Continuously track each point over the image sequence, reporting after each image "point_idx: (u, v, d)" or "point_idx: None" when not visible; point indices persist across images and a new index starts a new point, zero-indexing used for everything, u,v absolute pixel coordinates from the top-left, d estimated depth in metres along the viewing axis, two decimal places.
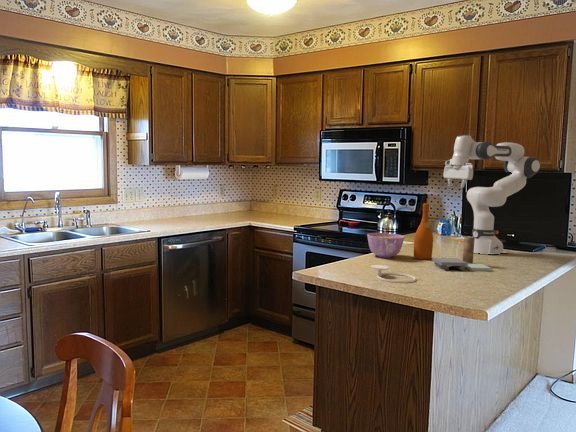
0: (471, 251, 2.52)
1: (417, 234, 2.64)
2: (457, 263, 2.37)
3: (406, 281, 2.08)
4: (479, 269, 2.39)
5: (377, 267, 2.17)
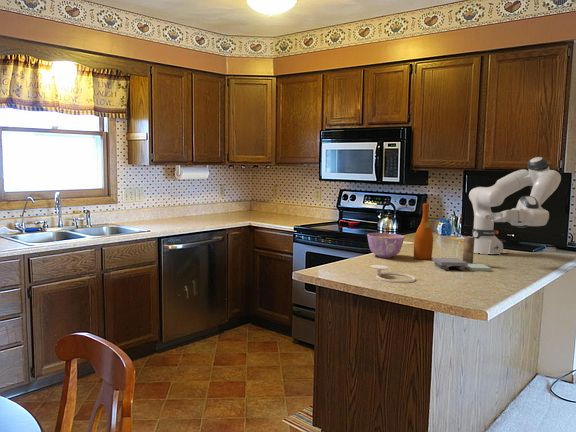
0: (471, 251, 2.52)
1: (417, 234, 2.64)
2: (457, 263, 2.37)
3: (406, 281, 2.08)
4: (479, 269, 2.39)
5: (376, 267, 2.17)
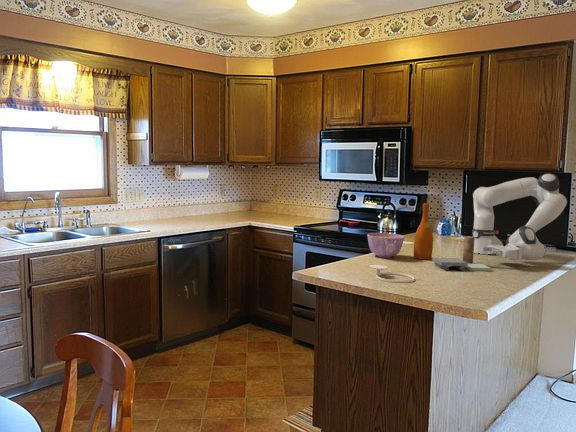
0: (471, 251, 2.52)
1: (417, 234, 2.64)
2: (457, 263, 2.37)
3: (405, 281, 2.08)
4: (479, 269, 2.39)
5: (376, 267, 2.17)
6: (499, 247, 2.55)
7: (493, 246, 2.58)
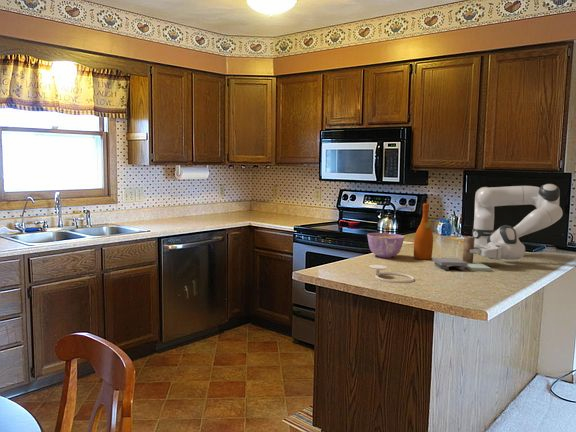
0: None
1: (417, 234, 2.64)
2: (457, 263, 2.37)
3: (405, 281, 2.08)
4: (479, 269, 2.39)
5: (375, 267, 2.17)
6: (479, 246, 2.54)
7: None
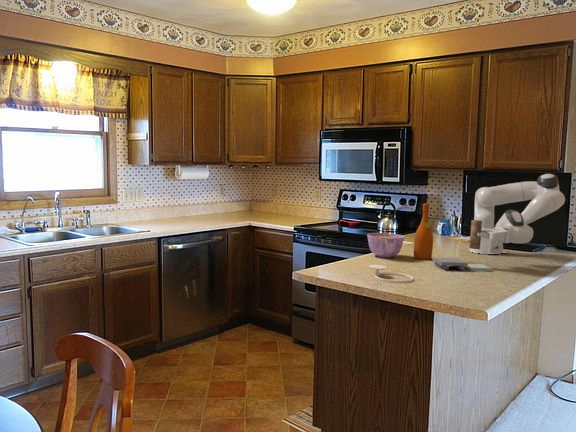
0: None
1: (417, 234, 2.64)
2: (457, 263, 2.37)
3: (404, 281, 2.08)
4: (479, 269, 2.39)
5: (375, 267, 2.17)
6: (486, 230, 2.48)
7: None
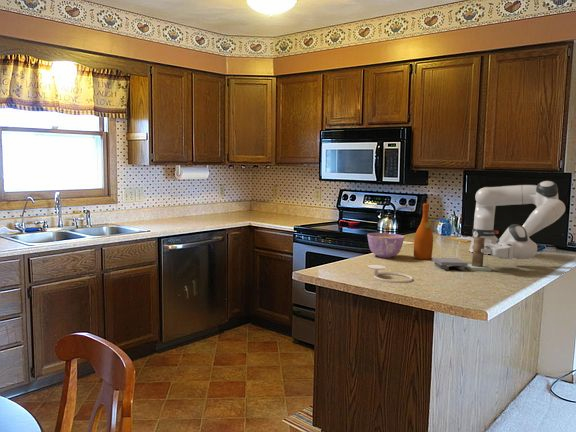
0: (481, 252, 2.41)
1: (417, 234, 2.64)
2: (457, 263, 2.37)
3: (404, 281, 2.08)
4: (479, 269, 2.39)
5: (374, 267, 2.17)
6: (489, 245, 2.43)
7: None
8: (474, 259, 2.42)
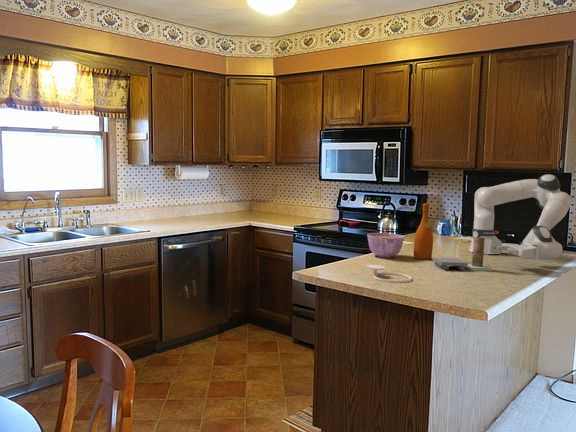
0: (481, 252, 2.41)
1: (417, 234, 2.64)
2: (457, 263, 2.37)
3: (403, 280, 2.08)
4: (479, 269, 2.39)
5: (373, 267, 2.17)
6: (514, 246, 2.44)
7: (508, 245, 2.47)
8: (474, 259, 2.42)
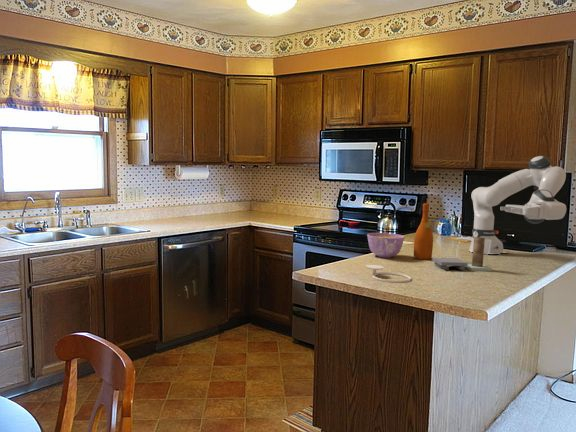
0: (481, 252, 2.41)
1: (417, 234, 2.64)
2: (457, 263, 2.37)
3: (403, 280, 2.08)
4: (479, 269, 2.39)
5: (372, 267, 2.17)
6: None
7: (512, 205, 2.45)
8: (474, 259, 2.42)
